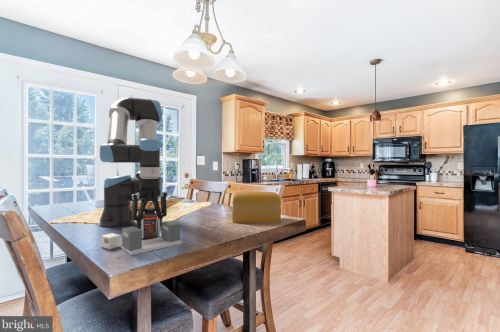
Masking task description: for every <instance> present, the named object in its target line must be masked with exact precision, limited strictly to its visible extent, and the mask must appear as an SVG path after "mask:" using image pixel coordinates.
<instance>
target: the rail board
mask: <svg viewBox="0 0 500 332" xmlns="http://www.w3.org/2000/svg"><path fill="white" fill-rule="evenodd" d="M121 230H122V231H121V232H122V234H121V235H122V237H121V238H122V239H121V241H122V242H121V243H122V244H120V248H121V250H123V251H125V252H126V253H127V254H129V255H130V256H133V255H137V254H142V253H146V252H151V251H155V250H160V249H163V248H168V247H174V246H179V245H183V240H181V223H179V222H175V221H173V220H169V221H162V226H160V235H161V236H159V237H153V238H147V239H143V238H142V230H140V229H138V228H137V226H129V227H123V228H122V229H121Z"/></svg>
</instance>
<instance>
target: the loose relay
mask: <svg viewBox="0 0 500 332" xmlns="http://www.w3.org/2000/svg"><path fill="white" fill-rule="evenodd" d="M100 247H101V248H103V249H106V250H107V249H108V250H112V249H114V248H119V247H121V235H120V234H117V233H113V232H111V233H108V234H103V235H101V236H100Z"/></svg>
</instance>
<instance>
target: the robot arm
mask: <svg viewBox="0 0 500 332" xmlns="http://www.w3.org/2000/svg"><path fill="white" fill-rule="evenodd" d="M108 118H109V119H110V120H109V126H108V134H107V141H106V142H107V143H102V144H100V146H99V158H100V161H101V162H102V163H110V164H112V163H114V164H116V163H117V164H118V163H119V164H120V163H125V164H126V163H127V164H128V163H131V164H132V163H133V164H134V163H136V164H138V171H137V172H136V173H135V177H132V176H131V174H125V175H117V176H115V175H114V176H109V177H106V178H105V179H104V182H103V183H104V184H103V210H102V213H101V215H100V219H99V226H101V227H109V228H111V227H112V228H117V227H123V226H128V225H132V224H134V223H135V221H136V228H138V229H140V230H142V239H144V238H143V236H144V221H142V217H143V214H144V213H145V212H144V211H145V208H147V204H148V202H152V204H153V208H155V213H156V214H157V236H160V235H161V227H162V222H163V219H164V217H167V215H168V213H167V212H168V211H167V196H168V193H167V192H166V191H163V183H164V182H163V181H164V178H163V176H161V167H160V166H161V165H160V163H161V141H160V140H159V139H158V138H157V127H159V125H160V123H161V122H162V121H163V113H162V107H161V103H160V101H158V100H156V99H152V98H150V99H148V98H137V97H131V96H130V97H124V98H121V99H118V100H117V101H115V102H114V103H113V104H112V105H111V106H110V108H109V110H108ZM129 121H135V124H136V126H138V144H128V126H129ZM159 199H160V203H159ZM131 202H132V205H131ZM139 202H140V206H139ZM138 206H139V208H138Z"/></svg>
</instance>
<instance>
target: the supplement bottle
mask: <svg viewBox="0 0 500 332" xmlns="http://www.w3.org/2000/svg"><path fill="white" fill-rule="evenodd" d="M157 218H158V217H157V214H156V211H155V208H154V207H145V211H144V214H143V217H142V221H144V236H143V238H142V239H153V238H157V236H158V235H157Z"/></svg>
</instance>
